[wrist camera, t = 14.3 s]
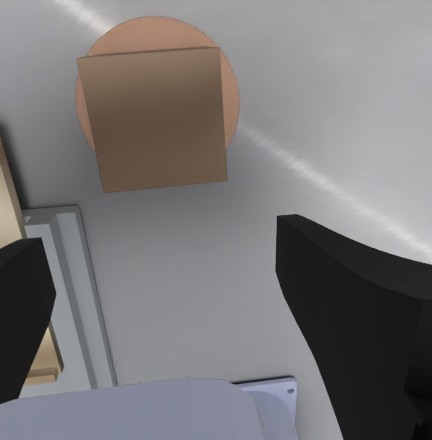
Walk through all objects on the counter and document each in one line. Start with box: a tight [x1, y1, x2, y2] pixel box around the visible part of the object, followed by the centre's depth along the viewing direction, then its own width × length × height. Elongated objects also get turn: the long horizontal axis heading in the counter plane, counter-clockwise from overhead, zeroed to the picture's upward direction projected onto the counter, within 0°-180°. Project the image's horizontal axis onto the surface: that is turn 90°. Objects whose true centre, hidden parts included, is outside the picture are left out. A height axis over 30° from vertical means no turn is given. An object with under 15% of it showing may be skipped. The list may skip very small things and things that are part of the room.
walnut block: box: [77, 46, 227, 193], centre depth 17 cm, size 5×5×5 cm
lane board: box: [18, 205, 117, 399], centre depth 24 cm, size 20×10×2 cm, turn 2°
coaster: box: [76, 17, 239, 152], centre depth 19 cm, size 8×8×1 cm
